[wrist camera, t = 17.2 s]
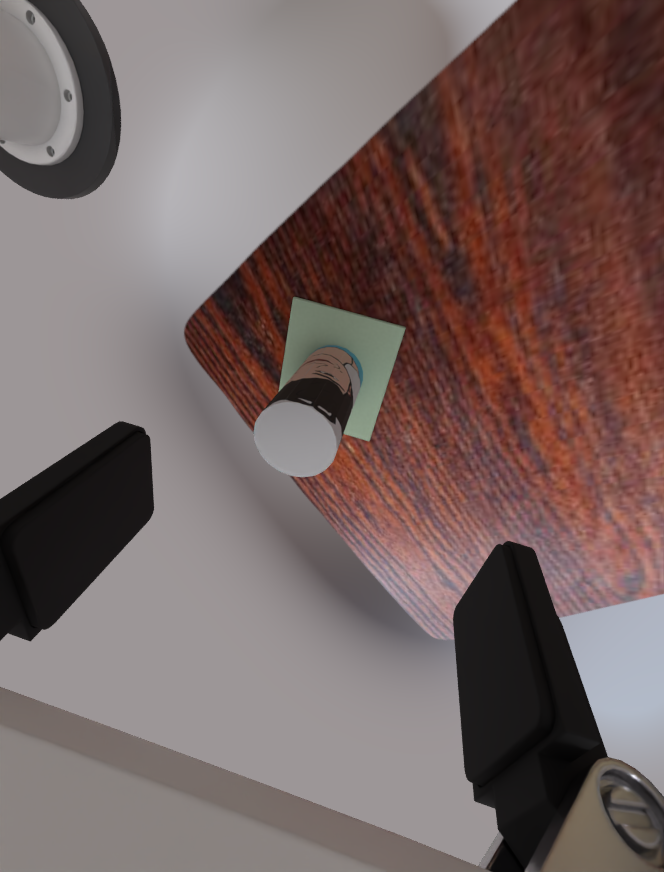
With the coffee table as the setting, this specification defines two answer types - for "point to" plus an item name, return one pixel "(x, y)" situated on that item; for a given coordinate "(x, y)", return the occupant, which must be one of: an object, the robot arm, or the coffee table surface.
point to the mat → (358, 335)
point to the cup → (310, 413)
